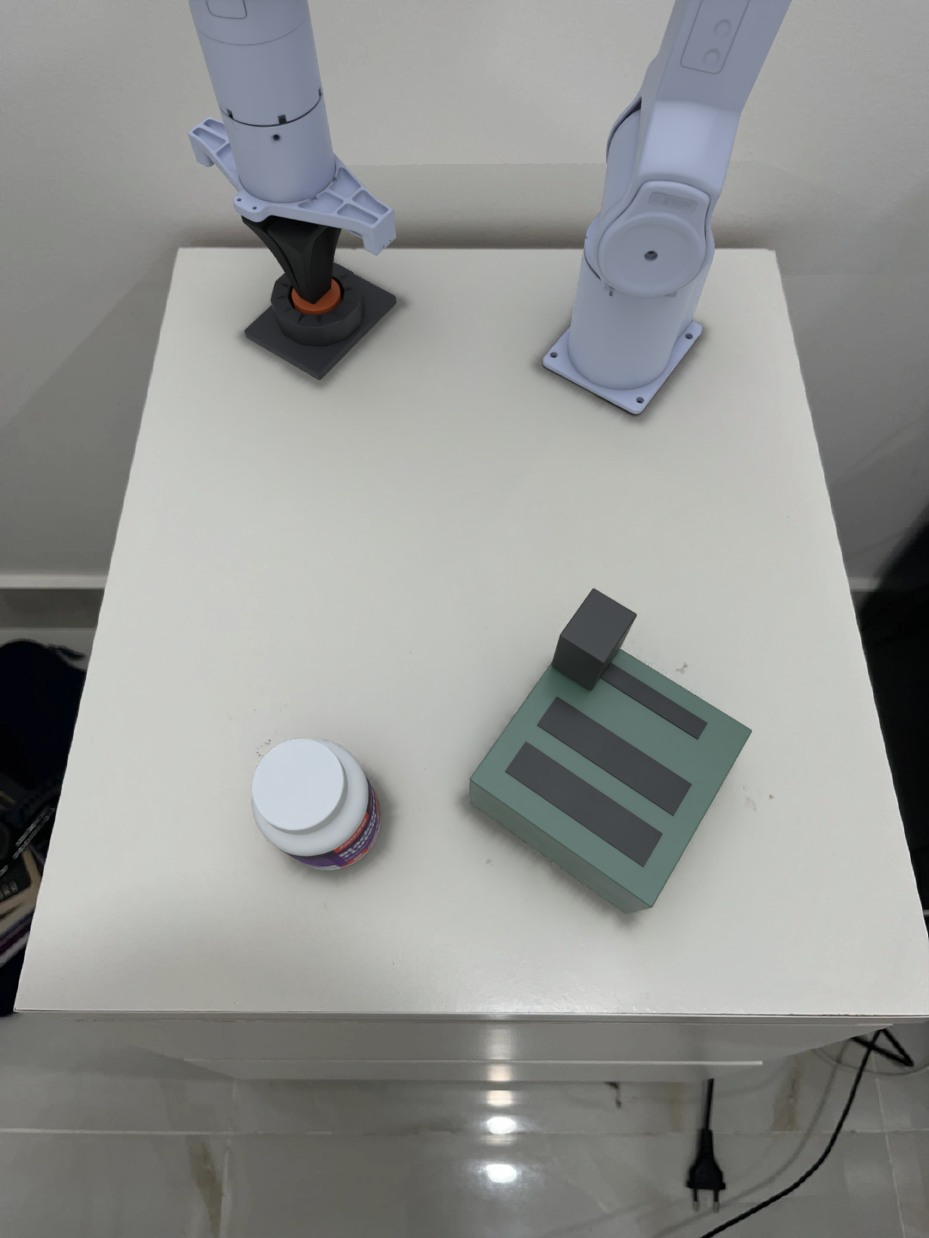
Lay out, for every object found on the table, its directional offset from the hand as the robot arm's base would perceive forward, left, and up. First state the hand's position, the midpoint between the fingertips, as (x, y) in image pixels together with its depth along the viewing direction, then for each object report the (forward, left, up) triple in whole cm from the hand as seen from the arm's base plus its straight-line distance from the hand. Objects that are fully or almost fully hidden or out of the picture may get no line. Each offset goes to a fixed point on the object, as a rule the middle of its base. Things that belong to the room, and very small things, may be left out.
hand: (315, 292), depth 54 cm
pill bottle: (+27, +24, -3) cm, 36 cm away
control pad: (0, 0, -3) cm, 3 cm away
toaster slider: (+14, +30, +4) cm, 34 cm away
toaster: (+17, +34, -3) cm, 38 cm away
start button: (0, 0, -2) cm, 2 cm away
